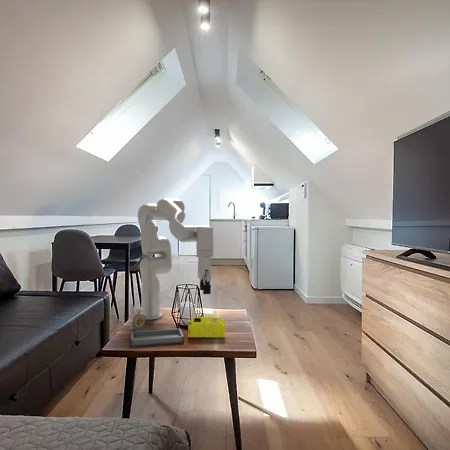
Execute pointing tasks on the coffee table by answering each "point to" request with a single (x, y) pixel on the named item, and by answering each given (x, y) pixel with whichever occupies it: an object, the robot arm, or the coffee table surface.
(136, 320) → the pocket watch
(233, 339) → the coffee table surface
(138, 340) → the tray
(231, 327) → the coffee table surface
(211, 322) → the yellow toy chassis
